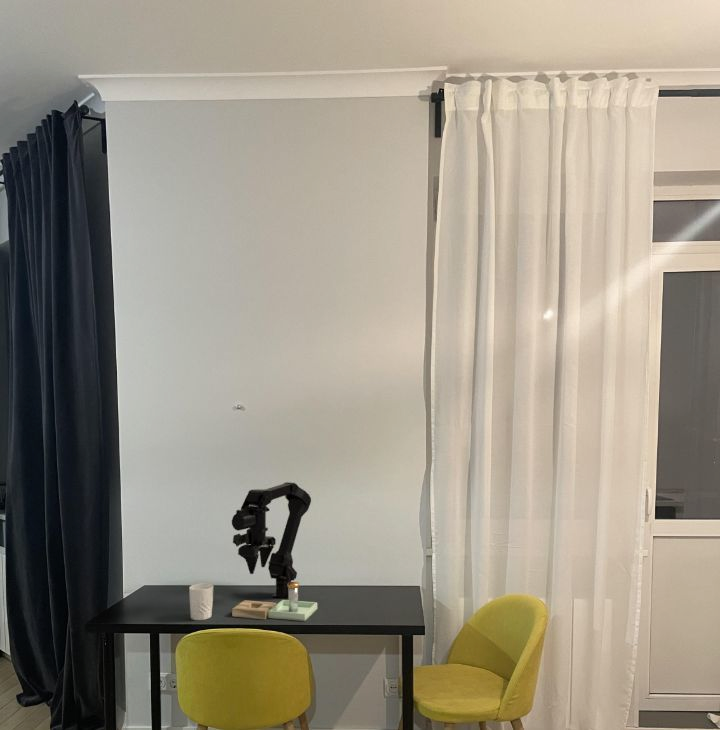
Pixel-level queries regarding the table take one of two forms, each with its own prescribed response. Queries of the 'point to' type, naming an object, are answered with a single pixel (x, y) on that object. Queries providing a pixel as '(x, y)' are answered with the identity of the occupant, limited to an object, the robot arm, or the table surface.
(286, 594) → the robot arm
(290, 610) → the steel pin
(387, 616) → the table surface
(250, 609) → the block
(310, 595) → the table surface
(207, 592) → the white cup
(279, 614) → the tray
